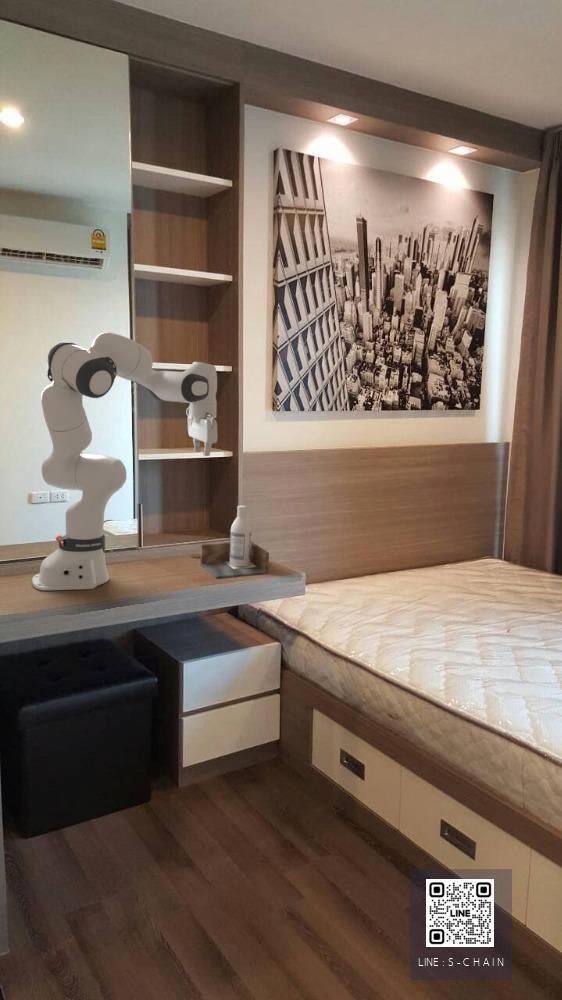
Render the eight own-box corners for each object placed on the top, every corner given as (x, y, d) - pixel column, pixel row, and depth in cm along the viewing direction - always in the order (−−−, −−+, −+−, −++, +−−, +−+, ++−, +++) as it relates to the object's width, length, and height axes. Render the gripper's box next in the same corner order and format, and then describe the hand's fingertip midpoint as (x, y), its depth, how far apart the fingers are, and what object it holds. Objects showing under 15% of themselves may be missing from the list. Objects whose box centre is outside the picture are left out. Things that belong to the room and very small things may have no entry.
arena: (216, 578, 228) (216, 557, 227) (200, 564, 242) (200, 544, 241) (268, 573, 236) (269, 553, 234) (249, 560, 250) (250, 540, 248)
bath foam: (242, 560, 247) (243, 503, 243) (254, 565, 242) (256, 507, 238) (225, 563, 242) (227, 505, 238) (237, 568, 237) (239, 509, 233)
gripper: (222, 414, 228) (221, 458, 231) (202, 409, 246) (201, 449, 249) (203, 414, 226) (203, 458, 228) (184, 409, 244) (183, 449, 247)
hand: (202, 453), depth 239 cm, fingers open, 8 cm apart
